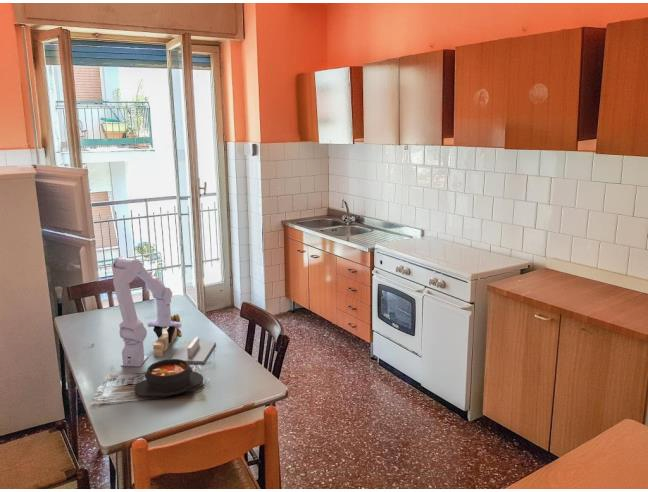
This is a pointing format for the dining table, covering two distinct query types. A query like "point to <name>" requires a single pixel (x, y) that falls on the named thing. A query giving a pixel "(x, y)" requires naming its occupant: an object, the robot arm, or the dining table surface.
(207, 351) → the fulcrum stand
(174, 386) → the casserole
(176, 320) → the gavel
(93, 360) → the dining table surface
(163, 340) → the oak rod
